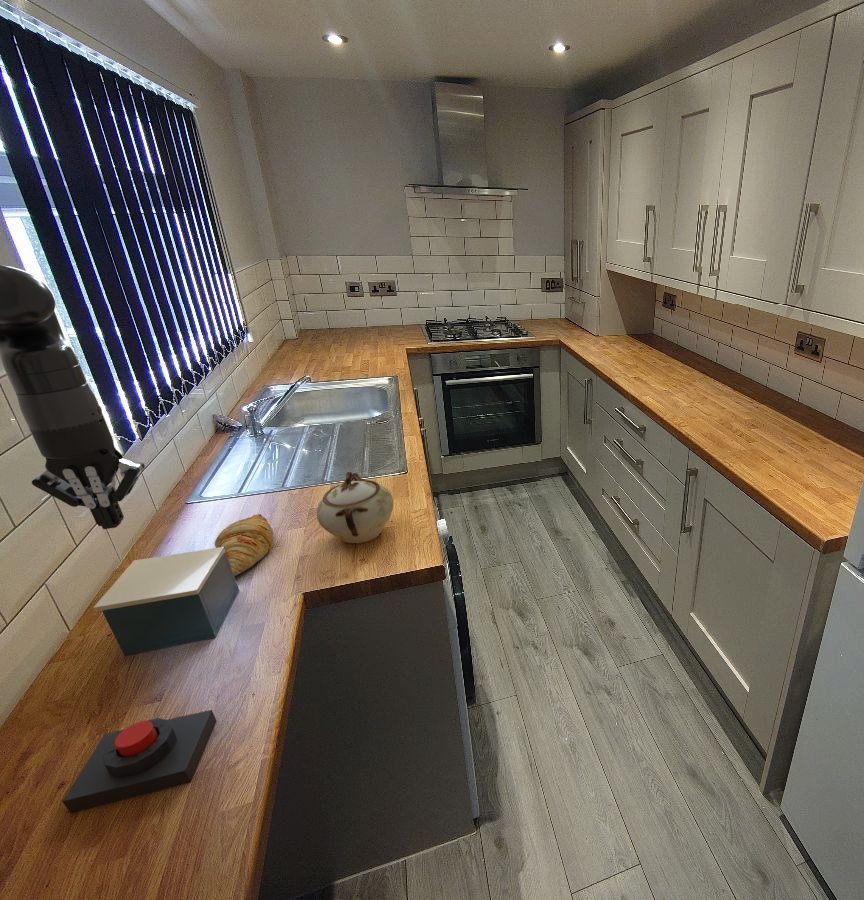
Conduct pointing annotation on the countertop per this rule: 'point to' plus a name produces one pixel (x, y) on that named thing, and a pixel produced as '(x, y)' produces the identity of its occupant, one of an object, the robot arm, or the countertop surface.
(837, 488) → the countertop surface
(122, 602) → the box lid
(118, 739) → the button
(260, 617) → the countertop surface
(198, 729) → the switch block
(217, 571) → the dark rectangular box
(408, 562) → the countertop surface
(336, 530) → the sugar bowl
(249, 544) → the croissant
